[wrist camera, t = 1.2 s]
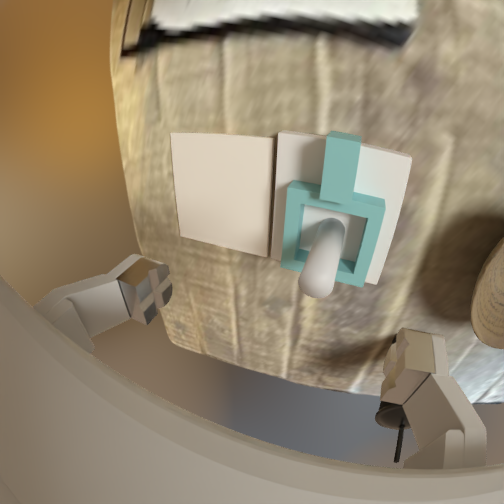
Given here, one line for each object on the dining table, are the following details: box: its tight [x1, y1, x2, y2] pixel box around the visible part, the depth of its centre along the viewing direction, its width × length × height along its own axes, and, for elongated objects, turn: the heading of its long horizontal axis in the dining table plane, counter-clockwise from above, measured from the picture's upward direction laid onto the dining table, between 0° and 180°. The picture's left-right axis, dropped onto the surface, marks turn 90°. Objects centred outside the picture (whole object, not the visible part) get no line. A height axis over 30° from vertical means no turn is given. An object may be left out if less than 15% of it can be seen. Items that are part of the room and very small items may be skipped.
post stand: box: [271, 130, 412, 298], centre depth 26 cm, size 16×14×12 cm
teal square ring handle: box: [280, 131, 386, 287], centre depth 27 cm, size 16×10×4 cm, turn 178°
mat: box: [170, 132, 274, 257], centre depth 36 cm, size 16×14×1 cm
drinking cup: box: [375, 337, 411, 463], centre depth 29 cm, size 8×8×20 cm
